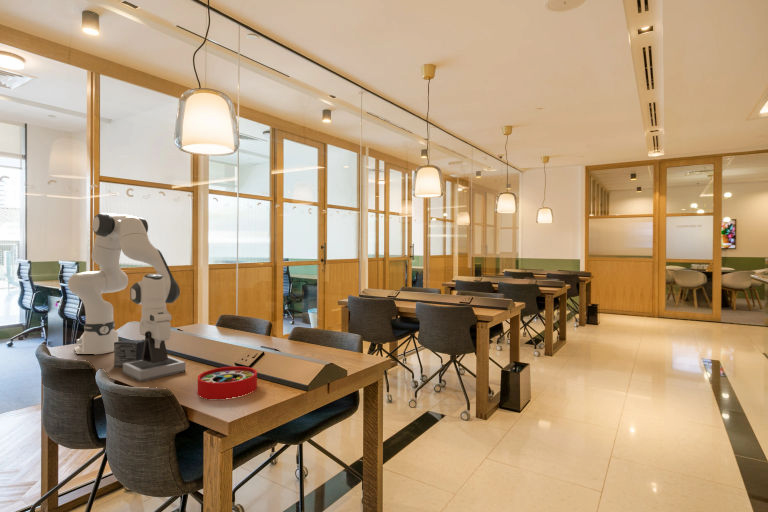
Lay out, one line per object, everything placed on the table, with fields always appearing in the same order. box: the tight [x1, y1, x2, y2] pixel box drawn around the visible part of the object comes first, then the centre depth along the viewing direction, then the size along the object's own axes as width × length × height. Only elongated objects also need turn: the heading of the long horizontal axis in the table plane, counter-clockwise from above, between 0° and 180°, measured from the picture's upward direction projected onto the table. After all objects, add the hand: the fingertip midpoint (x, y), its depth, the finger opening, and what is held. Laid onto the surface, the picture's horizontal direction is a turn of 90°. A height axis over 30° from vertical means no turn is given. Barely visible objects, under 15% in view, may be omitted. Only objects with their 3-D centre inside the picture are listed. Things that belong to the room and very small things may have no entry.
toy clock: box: [197, 365, 258, 400], centre depth 150 cm, size 20×6×20 cm
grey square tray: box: [122, 355, 186, 383], centre depth 169 cm, size 17×17×4 cm
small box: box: [113, 339, 145, 368], centre depth 179 cm, size 11×6×10 cm, turn 84°
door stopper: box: [141, 331, 169, 363], centre depth 169 cm, size 9×6×12 cm, turn 59°
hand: (154, 348), depth 169 cm, fingers closed on door stopper, 3 cm apart
